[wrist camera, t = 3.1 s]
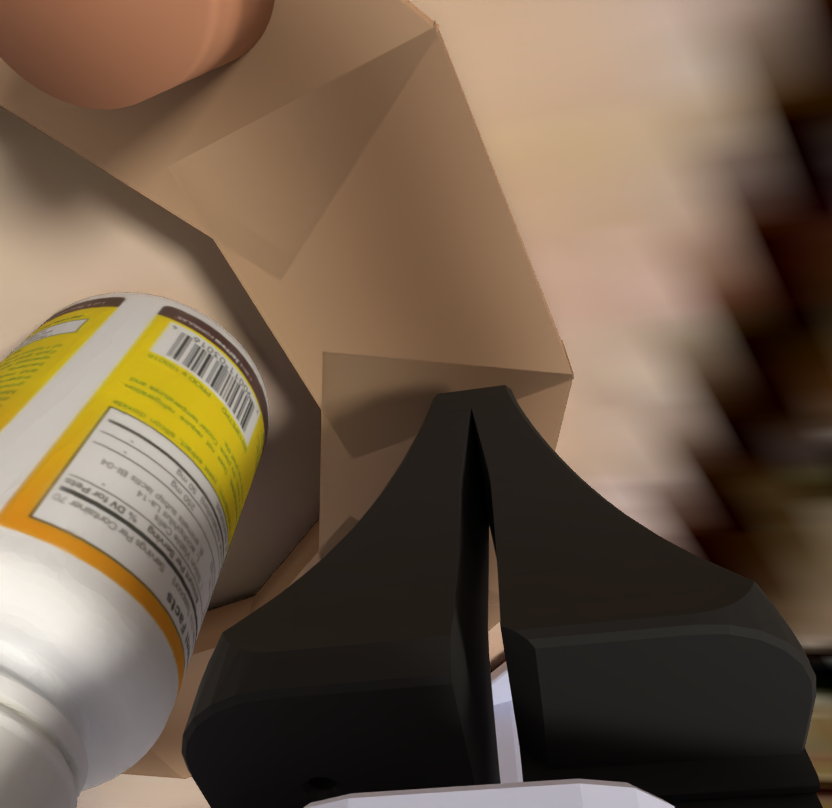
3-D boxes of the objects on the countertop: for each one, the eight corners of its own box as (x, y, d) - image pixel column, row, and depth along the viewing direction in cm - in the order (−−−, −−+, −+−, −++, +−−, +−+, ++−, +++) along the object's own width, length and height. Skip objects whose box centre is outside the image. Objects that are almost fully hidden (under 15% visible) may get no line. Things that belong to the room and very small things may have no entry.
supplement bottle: (37, 451, 17) (-359, 926, 9) (40, 249, 15) (-543, 661, 6) (255, 505, 18) (89, 992, 10) (299, 323, 15) (118, 784, 7)
